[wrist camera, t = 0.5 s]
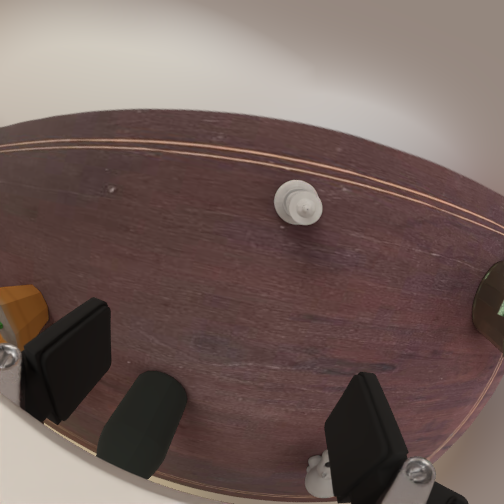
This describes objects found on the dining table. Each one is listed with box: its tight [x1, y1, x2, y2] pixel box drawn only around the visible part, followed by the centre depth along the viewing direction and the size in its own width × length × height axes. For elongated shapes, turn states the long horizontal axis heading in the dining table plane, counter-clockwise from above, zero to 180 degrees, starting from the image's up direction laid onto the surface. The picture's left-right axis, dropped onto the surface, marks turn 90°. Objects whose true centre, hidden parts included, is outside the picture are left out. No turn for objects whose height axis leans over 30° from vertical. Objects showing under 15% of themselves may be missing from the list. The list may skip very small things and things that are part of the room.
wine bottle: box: [96, 371, 187, 479], centre depth 20 cm, size 8×8×30 cm
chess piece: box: [274, 180, 322, 225], centre depth 22 cm, size 4×4×10 cm
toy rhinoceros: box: [305, 450, 334, 498], centre depth 31 cm, size 7×12×8 cm, turn 1°
